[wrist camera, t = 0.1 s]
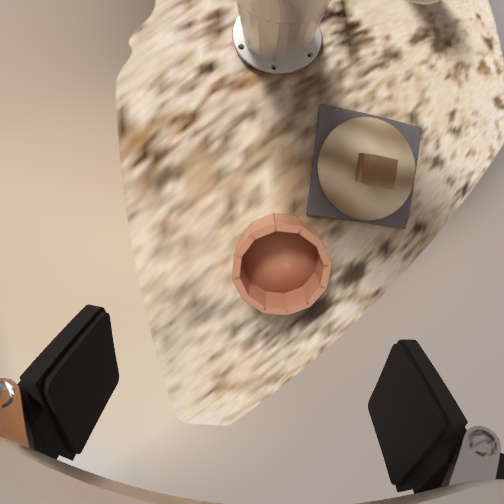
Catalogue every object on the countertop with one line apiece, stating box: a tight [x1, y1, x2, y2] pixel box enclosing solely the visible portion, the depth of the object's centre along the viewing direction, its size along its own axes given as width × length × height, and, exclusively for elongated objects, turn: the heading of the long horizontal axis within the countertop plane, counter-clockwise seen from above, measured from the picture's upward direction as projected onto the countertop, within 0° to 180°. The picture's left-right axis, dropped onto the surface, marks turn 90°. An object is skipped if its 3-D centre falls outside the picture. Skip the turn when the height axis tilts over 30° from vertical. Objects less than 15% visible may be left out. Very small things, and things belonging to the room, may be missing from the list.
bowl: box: [232, 213, 331, 315], centre depth 44 cm, size 13×13×6 cm
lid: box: [317, 117, 415, 220], centre depth 39 cm, size 15×15×6 cm
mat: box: [306, 105, 421, 229], centre depth 42 cm, size 16×16×1 cm
